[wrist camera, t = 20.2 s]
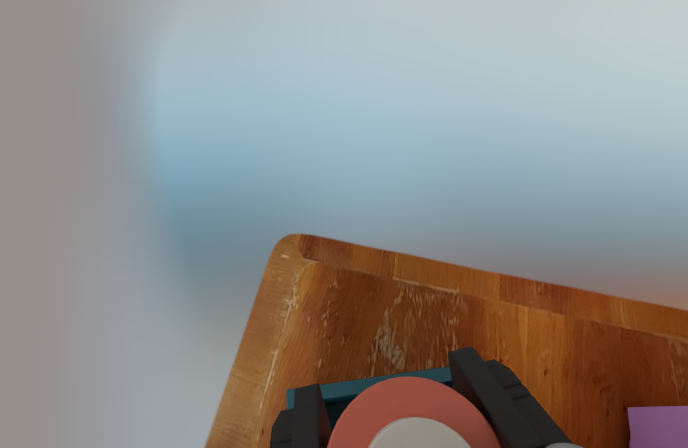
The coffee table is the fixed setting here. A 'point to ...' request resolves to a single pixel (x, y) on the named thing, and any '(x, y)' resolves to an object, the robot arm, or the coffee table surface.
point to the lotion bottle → (412, 418)
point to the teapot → (658, 427)
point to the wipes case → (347, 391)
